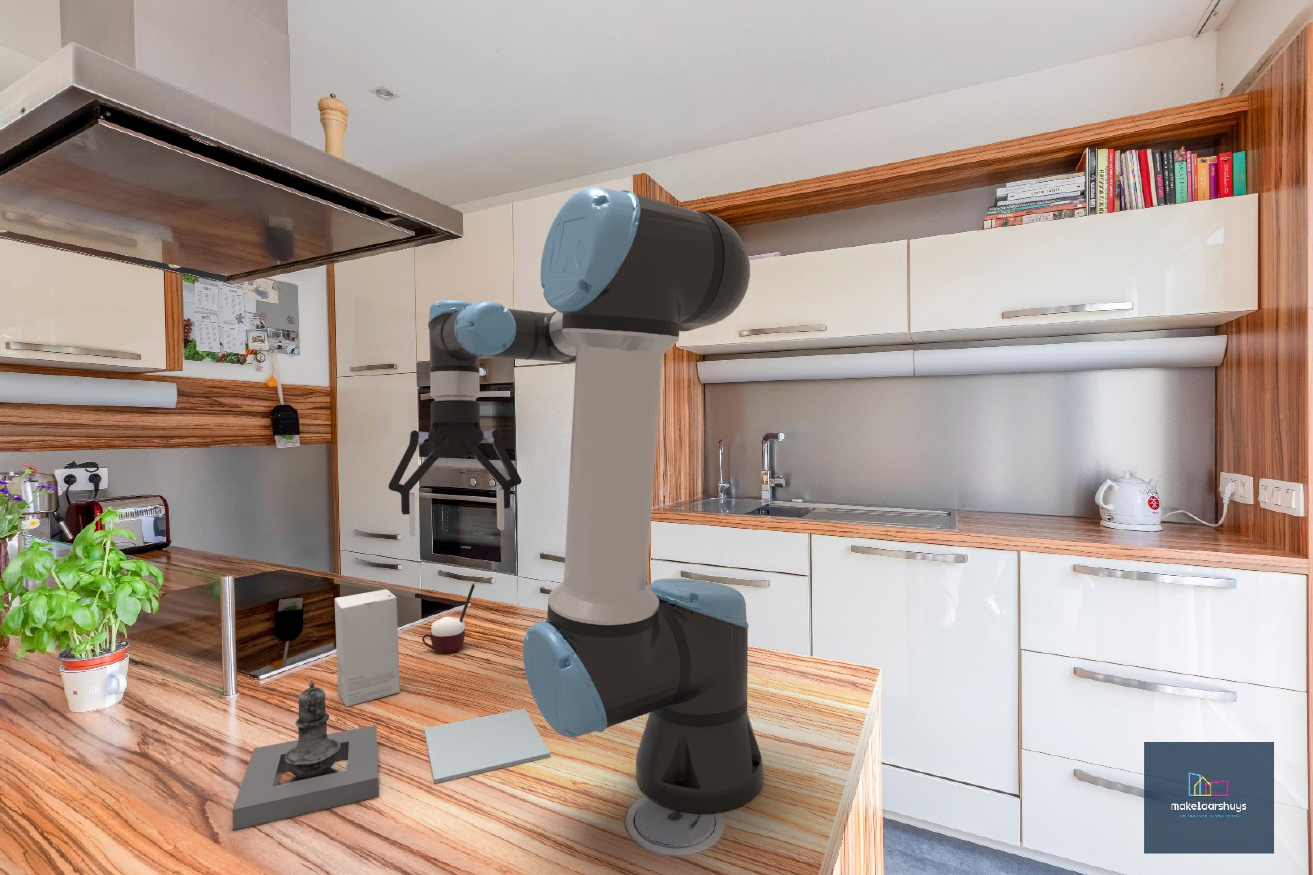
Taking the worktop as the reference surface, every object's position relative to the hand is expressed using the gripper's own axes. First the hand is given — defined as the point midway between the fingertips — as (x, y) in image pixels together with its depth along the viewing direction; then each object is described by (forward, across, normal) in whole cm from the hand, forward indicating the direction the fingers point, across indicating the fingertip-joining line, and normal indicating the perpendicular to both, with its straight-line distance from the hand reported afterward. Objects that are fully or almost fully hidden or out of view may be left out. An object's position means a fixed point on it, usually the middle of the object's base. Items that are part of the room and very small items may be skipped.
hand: (457, 532), depth 102 cm
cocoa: (+25, 0, -19) cm, 31 cm away
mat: (+25, -1, +20) cm, 32 cm away
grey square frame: (+25, +19, +21) cm, 38 cm away
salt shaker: (+26, +19, +21) cm, 38 cm away
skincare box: (+25, +14, -3) cm, 29 cm away
